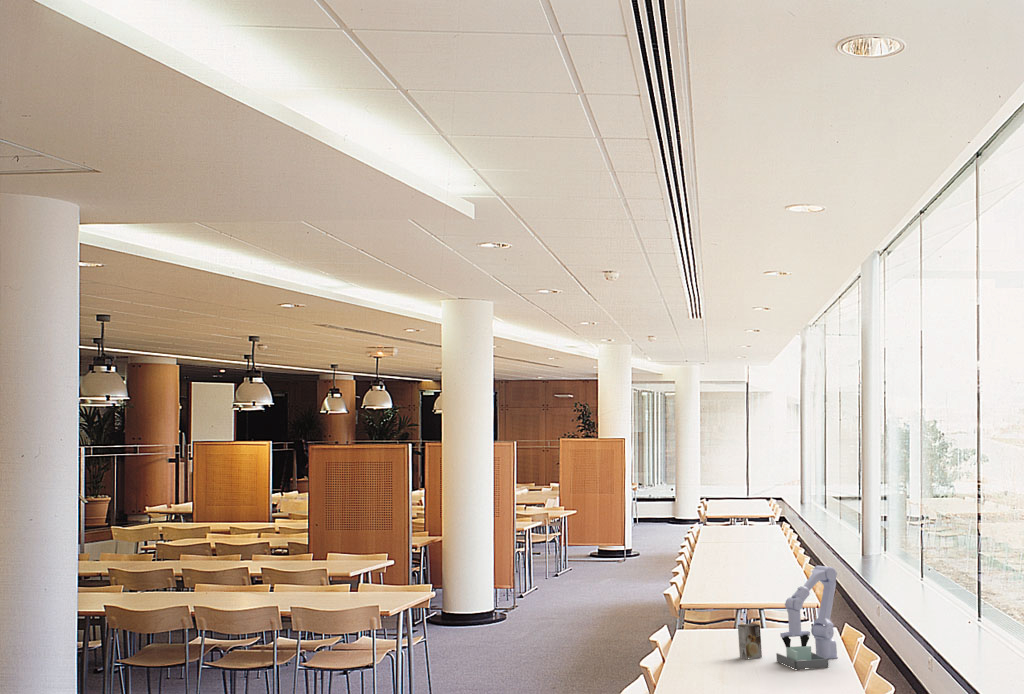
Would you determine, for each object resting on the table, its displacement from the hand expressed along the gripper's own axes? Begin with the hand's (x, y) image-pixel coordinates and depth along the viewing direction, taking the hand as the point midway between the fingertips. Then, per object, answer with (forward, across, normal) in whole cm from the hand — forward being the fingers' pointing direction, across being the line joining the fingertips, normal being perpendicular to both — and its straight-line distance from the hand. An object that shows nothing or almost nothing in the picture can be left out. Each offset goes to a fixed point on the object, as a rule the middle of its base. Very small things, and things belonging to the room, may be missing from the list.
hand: (796, 651), depth 508 cm
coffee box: (+5, +16, -17) cm, 24 cm away
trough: (+5, 0, +6) cm, 8 cm away
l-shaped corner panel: (+5, 0, +7) cm, 9 cm away
